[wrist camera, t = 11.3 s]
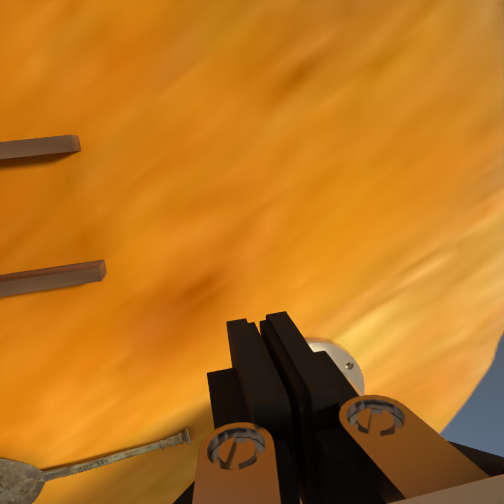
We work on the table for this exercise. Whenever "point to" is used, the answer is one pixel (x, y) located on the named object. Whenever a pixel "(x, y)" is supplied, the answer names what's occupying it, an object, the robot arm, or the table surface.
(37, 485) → the soupspoon
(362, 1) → the table surface
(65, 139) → the chute
